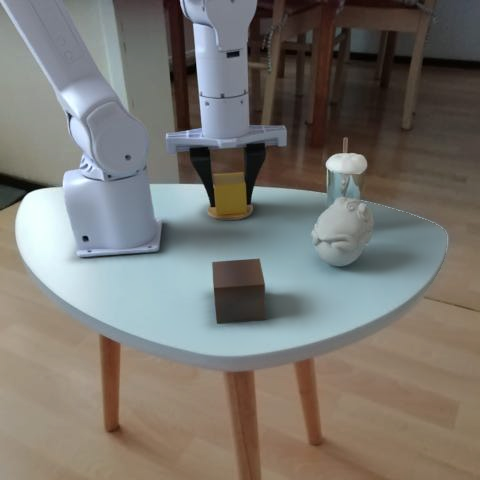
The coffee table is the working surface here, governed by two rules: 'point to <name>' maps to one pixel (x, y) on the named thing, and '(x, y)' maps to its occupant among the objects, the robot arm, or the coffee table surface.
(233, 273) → the walnut block
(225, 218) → the cork coaster
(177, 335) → the coffee table surface
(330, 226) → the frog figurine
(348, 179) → the milkshake
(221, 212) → the top cube
